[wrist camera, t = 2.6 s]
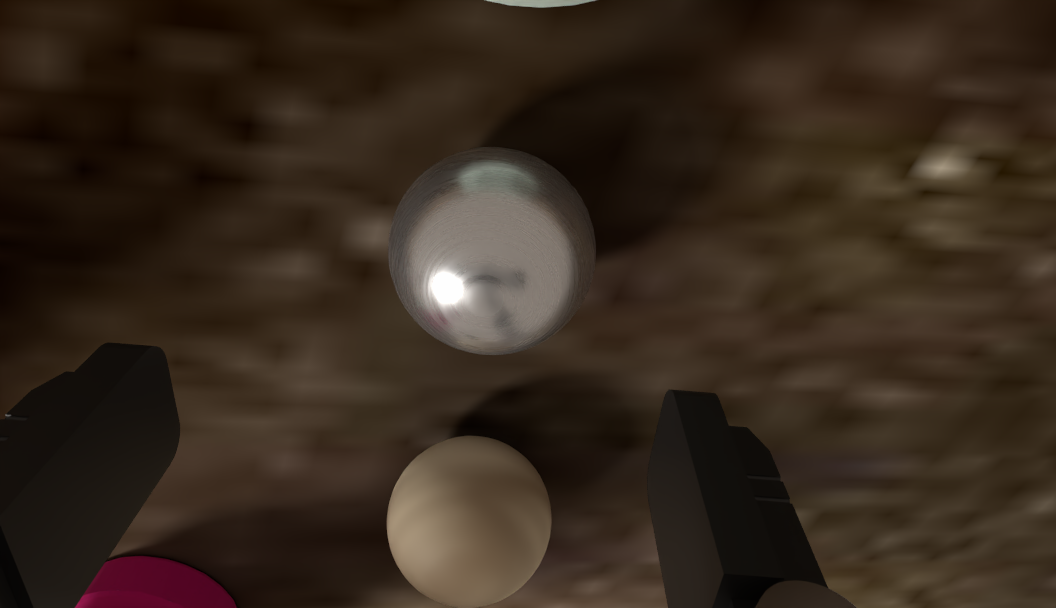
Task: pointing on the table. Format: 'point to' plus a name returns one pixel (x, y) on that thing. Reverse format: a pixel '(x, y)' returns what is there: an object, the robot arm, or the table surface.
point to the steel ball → (492, 250)
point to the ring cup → (541, 2)
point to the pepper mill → (153, 586)
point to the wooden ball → (469, 521)
